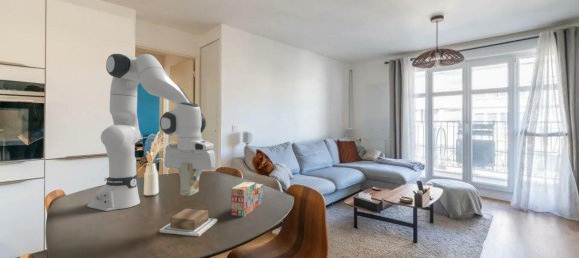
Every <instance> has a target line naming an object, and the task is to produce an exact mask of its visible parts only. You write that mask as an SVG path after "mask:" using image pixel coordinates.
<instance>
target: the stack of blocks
mask: <svg viewBox="0 0 579 258" xmlns="http://www.w3.org/2000/svg"><path fill="white" fill-rule="evenodd" d="M230 195H231V197H230V200H231V201H230V202H231V205H230V206H231V216H234V217H235V216H236V217H243V218H244V217H246V216H247V215H248V214H251V212H253V211H254V210H255V209H256V208H257V207H258V206H260V205H261V204H263V203H264V184H262V183H257V182H254V181H253V182H251V181H250V182H249V181H243V182H241V183H239V184H237V185H236V186H235V185H234V186H233V187H232V188H231V194H230ZM262 202H263V203H262ZM253 209H254V210H253Z"/></svg>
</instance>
